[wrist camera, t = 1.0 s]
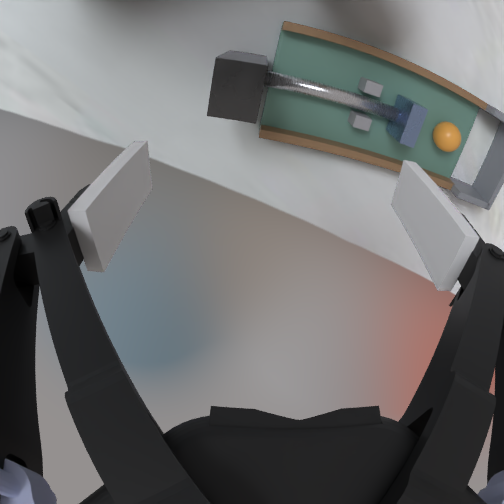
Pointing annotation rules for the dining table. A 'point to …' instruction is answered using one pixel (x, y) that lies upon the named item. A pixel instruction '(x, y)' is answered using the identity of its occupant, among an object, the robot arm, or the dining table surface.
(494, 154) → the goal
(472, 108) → the lane
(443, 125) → the ball
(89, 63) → the dining table surface
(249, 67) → the striker rod
